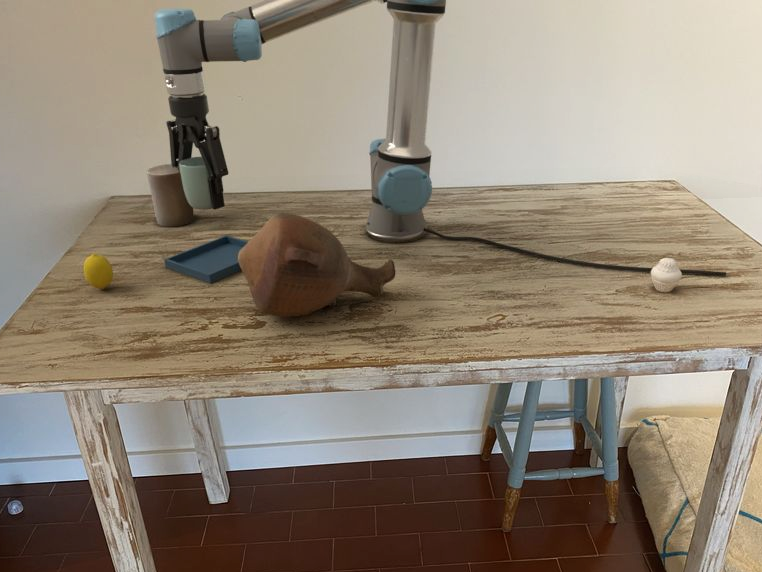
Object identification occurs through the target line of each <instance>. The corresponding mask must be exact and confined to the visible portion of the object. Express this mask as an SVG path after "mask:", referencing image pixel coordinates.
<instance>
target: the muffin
mask: <svg viewBox="0 0 762 572" xmlns="http://www.w3.org/2000/svg"><path fill="white" fill-rule="evenodd" d="M652 268H653V269H652V270H651V271H650V276H651V280H652V284H653V286H654V288H655V290H656V291H657V292H661V293H670V292H672V291H673V290H674V289H675V287H676V286H677V285H678V284H679V282H680V281H681V279H682V276H683V273H681V271H680V270H679V267H678V262H677V260H676V259H674V258H671V257H664V258H662V259H660V260H659V262H658V263H657V265H654V266H653V267H652Z"/></svg>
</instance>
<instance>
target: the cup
mask: <svg viewBox="0 0 762 572" xmlns="http://www.w3.org/2000/svg"><path fill="white" fill-rule="evenodd" d="M179 168H180V174H181V179H182V185H183V189H184V193H185V196H186V199H187V201H188V203H189V204H190V206H192V207H193V209H194V210H200V211H207V210H213V208H212V202H211V196H210V189H209V183H208V178H209V177H210V175H209V173H208V170H207V168H206V166H205V163H204V161H203V158H202V156H191V158H188V159H184V160H182V161H180V163H179ZM214 173H215V171H214Z"/></svg>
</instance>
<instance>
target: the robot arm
mask: <svg viewBox="0 0 762 572" xmlns="http://www.w3.org/2000/svg"><path fill="white" fill-rule="evenodd" d="M373 2H378V3H379V4H386V10H387V12H388V13H389V15H390V16H391V17H392V20H393V23H392V25H393V26H392V37H391V38H392V39H391V55H390V71H389V83H388V84H389V86H388V100H387V101H388V103H387V117H386V118H387V119H386V134H385V137H384V138H378V139H374V140H372V141H371V142H370V144H369V152H368V153H369V158H370V159H369V161H370V183H371V184H370V185H371V187H370V188H371V205H370V210H369V212H368V216H367V221H366V223H365V233H366V236H367V237H368V238H369V239H372V240H373V241H377V242H381V243H391V244H400V243H408V242H409V243H410V242H414V241H417V240H419V239H422V238H423V237H425V236H426V234H427V233H429V234H431V235H435V236H436V237H439V238H441V239H444V240H450V241H475V242H476V241H477V242H481V243H485V244H488V245H493V246H496V247H499V248H503V249H506V250H511V251H513V252H518V253H521V254H526V255H530V256H534V257H539V258H543V259H548V260H551V261H552V260H553V261H556V262H562V263H569V264H574V265H579V266H580V265H581V266H587V267H593V268H604V269H612V270H613V269H614V270H624V271H635V272H636V271H637V272H651V270H652V269H653V268H654V267H642V266H627V265H617V264H615V265H614V264H605V263H596V262H589V261H582V260H576V259H570V258H565V257H559V256H553V255H550V254H549V255H548V254H544V253H540V252H535V251H530V250H526V249H523V248H519V247H515V246H512V245H507V244H503V243H499V242H496V241H493V240H489V239H486V238H481V237H477V236H449V235H445V234H441V233H439V232H437V231H435V230H432V229H429V228H428V224H427V221H426V219H425V216H424V212H423V209H425V207H426V206H427V205H428V204H429V202H430V199H431V197H432V194H433V193H432V192H433V185H432V183H433V182H432V179H431V177H430V175H431V174H430V172H431V163H432V150H431V149H430V147H428V146H427V144H426V143H427V141H426V140H427V132H428V119H429V110H430V109H429V107H430V99H431V98H430V97H431V96H430V95H431V87H432V75H433V63H434V55H435V43H436V41H435V40H436V31H437V30H436V29H437V23H438V22H439V21H440V20H441V19H442V18H443V17H445V14H446V6H447V0H262V1H260V2H257V3H254V4H251V5H250V6H248V7H244V8H242V9H239V10H236V11H231V12H228V13H226V14H224V15H223V16H222V17H221V18H220V19H209V20H203V19H197V17H196V16H195V12H194V11H193V9H190V8H166V9H160V10H157V11H156V12H155V14H154V23H155V32H156V40H157V44H158V45H157V46H158V50H159V56H160V59H161V60H160V61H161V66H162V71H163V75H164V82H165V87H166V92H167V94H168V95H170V96H168V98H167V101H168V105H169V112H170V115H171V116H173V117H175V119H170V120H167V121H166V122H165V123H166V127H167V130H168V131H167V132H168V134H169V135H168V136H169V138H168V140H169V149H170V150H169V152H170V164H172V166H173V167H176V168H177V169H178V171H179V172H180V168H179V163H180V161H182V160H184V159H188V158H192V157H193V156H192V155H193V148H194V147H195V148H196V149H198V151H199V154H200V157H202V158H203V161H204V163H205V166H206V168H207V170H208V173H209V175H210V177H209V178H208V183H209V189H210V196H211V202H212V210H219V209H221V208H224V207H225V198H224V184H223V178H224V177H226V176H228V175H229V170H228V165H227V161H226V159H225V154H224V149H223V146H222V145H223V144H222V141H221V139H220V138H221V136H220V135H221V134H220V128H219V126H218V125H216V126H212V125H209V122H208V119H207V115H208V114H209V112H210V109H209V103H208V102H209V101H208V95H206V94H205V92H206V91H207V87H206V81H205V76H204V75H205V74H204V69H203V63H209V62H211V63H212V62H213V63H214V62H216V63H217V62H243V63H246V62H250V61H258V60H261V58H262V57H263V55H262V54H263V49H262V48H263V46H262V45H264V44H266V43H269V42H271V41H274V40H276V39H280V38H282V37H285V36H287V35H289V34H292V33H295V32H297V31H300V30H303V29H305V28H307V27H310V26H313V25H316V24H319V23H321V22H324V21H326V20H329V19H331V18H334V17H337V16H340V15H342V14H344V13H347V12H350V11H353V10H355V9H357V8H360V7H363V6H366V5H368V4H370V3H373ZM214 171H215V173H214ZM180 175H181V174H180ZM181 180H182V179H181ZM185 198H186V196H185ZM186 202H188V201H187V199H186ZM678 269H679V268H678ZM679 270H680V271H681V273H682V274H691V275H692V274H693V275H709V276H724V277H726V276H727V272H726V271H714V270H697V269H679Z"/></svg>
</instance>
